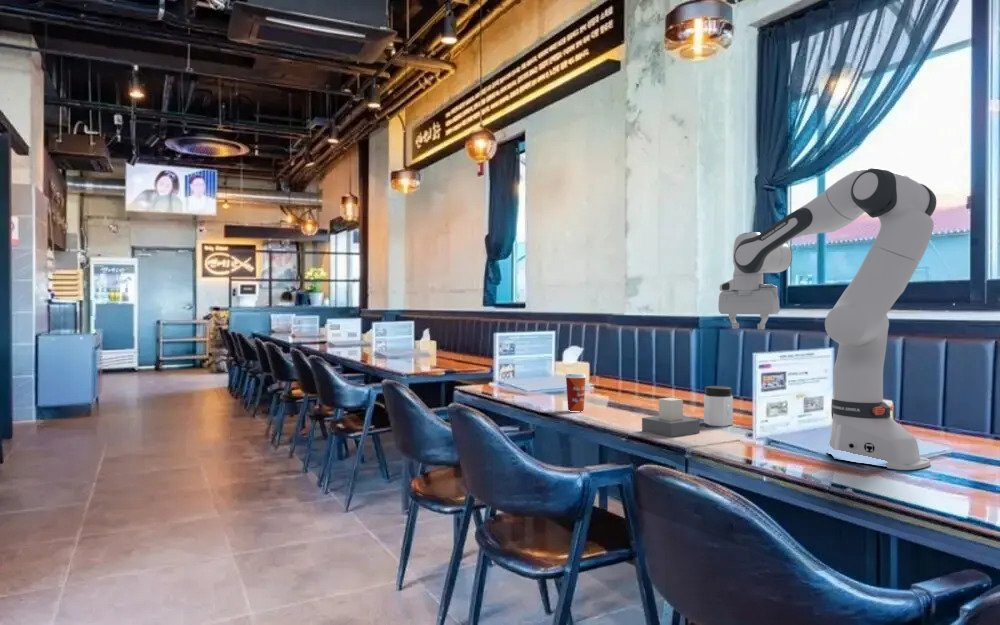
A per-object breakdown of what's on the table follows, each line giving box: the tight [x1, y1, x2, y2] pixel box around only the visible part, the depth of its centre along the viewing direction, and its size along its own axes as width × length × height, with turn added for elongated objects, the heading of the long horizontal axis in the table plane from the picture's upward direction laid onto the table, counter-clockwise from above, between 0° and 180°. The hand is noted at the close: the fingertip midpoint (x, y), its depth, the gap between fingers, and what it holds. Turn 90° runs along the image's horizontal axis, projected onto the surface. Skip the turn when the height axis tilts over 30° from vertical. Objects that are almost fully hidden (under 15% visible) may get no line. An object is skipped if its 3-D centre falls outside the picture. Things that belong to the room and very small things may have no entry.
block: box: [658, 397, 684, 421], centre depth 199 cm, size 5×5×6 cm
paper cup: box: [565, 372, 587, 412], centre depth 239 cm, size 8×8×14 cm
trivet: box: [641, 415, 701, 438], centre depth 199 cm, size 12×12×4 cm
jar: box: [703, 385, 734, 427], centre depth 212 cm, size 9×8×12 cm
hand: (748, 328), depth 204 cm, fingers open, 8 cm apart
